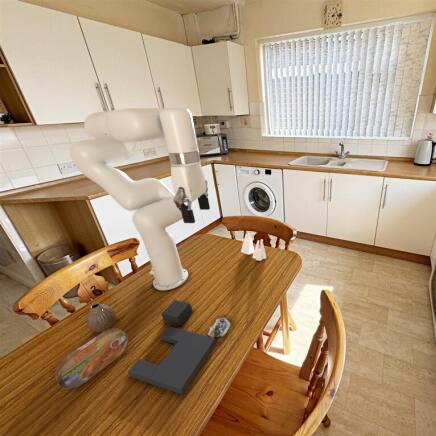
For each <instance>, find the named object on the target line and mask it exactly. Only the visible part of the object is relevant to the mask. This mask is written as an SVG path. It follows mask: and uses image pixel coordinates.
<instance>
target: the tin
mask: <svg viewBox="0 0 436 436" xmlns="http://www.w3.org/2000/svg"><path fill="white" fill-rule="evenodd" d="M128 345H129V335H128V334H127V332H125V331H123V330H122V329H120V328H110V329H108V330H106V331H104V332H100V333H99V334H98V335H96V336H95V337H93V338H92V339H90V340H88V341H87V342H85V343H84V344H83V345H81V346H80V347H77V349H75V350H74V351H72V352H71V353H69V354H68V355H66V356H65V357H64V358H63V359H62V360H61V361H60V362H59V364H58V365H57V367H56V369H55V372H54V377H55V380H56V381H57V384H58V386H59V387H61V388H63V389H74V388H77V387H79V386H82V385H84V384H85V383H87V382H88V381H89V380H91V379H92V378H93V377H95V376H96V375H97V374H99V373H100V372H101V371H103V369H105V368H107V366H109V365H110V364H112V363H113V362H114V361H116V360H117V359H118V358H120V356H122V354H123V353H124V352H125V351H126V350H127V347H128Z"/></svg>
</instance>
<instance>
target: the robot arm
mask: <svg viewBox="0 0 436 436" xmlns="http://www.w3.org/2000/svg"><path fill="white" fill-rule="evenodd" d="M83 126H84V129H85V131H86V132H87V134H88V135H90V137H92V138H91V139H84V140H80V141H77V142H75V143H73V144H72V145H71V146H70V148H69V157H70V159H71V160H72V162H73V164H74V165H75V167H76V168H77V169H78V171H80V173H81V174H83V176H85V177H87V178H88V179H89V180H90V181H92V182H94V183H95V184H97V185H98V186H99V187H100V188H102V189H103V190H104V191H105V192H106V193H107V194H108V195H109V196H110V198H112V199H113V200H114V201H115V202H116V203H117V204H118V205H119V206H120V207H122V208H123V209H124V210H126V211H129V212H133V211H134V213H133V215H132V217H131V218H132V223H133V225H134V227H135V229H136V230H137V232H138V233H139V235H140V238H141V240H142V242H143V245H144V247H145V250H146V253H147V256H148V259H149V262H150V265H151V271H149V272H148V273H149V275H151V276H153V278H154V279H153V281H152V285H153V287H154V288H155V289H156V290H158V291H170V290H173V289H176V288H178V287H180V286H182V285H184V283H185V282H186V281H187V280H188V278H189V272H188V270H187V269H185V268H183V267H182V262H181V259H180V255H179V251H178V248H177V245H176V241H175V238H174V236H173V235H172V234H171V233H169V232H168V231H167V230H166V229H167V228H168V227H169V226H172V225H174V224H176V223H177V222H180V221H181V220H182V221H183V223H184V224H195V223H196V219H195V215H194V210H193V209H192V205H193V204H192V203H193V202H195V201H196V200H197V202H198V203H197V204H198V207H199V210H203V211H209V210H210V209H211V206H210V201H209V193H208V190H209V188H208V180H207V179H205V174H204V170H203V168H202V164H201V163H202V162H201V156H200V151H199V146H198V139H197V135H196V129H195V124H194V120H193V114H192V113H191V111H190V109H188V108H186V107H167V108H166V107H138V108H122V109H113V110H105V111H96V112H92V113H90V114H88V115H87V116H86V117H85V119H84V121H83ZM157 139H164V140H165V144H166V145H165V146H166V149H167V153H168V157H169V161H170V176H171V183H172V190H173V192H172V190H171V189H170V188H169V187H168V186H167V185H166V184H164V182H162V181H161V180H159V179H157V178H154V177H146V178H142V179H139V180H133V179H132V178H130V177H129V175H127V173H126V172H124V171H122V170H121V169H118V168H116V167H113V166H110V165H107V164H112V163H113V164H114V163H118V162H121V161H122V162H123V161H127V160H129V159H131V158H132V157H133V155H134V152H135V149H136V146H137V144H138V142H144V141H150V140H151V141H152V140H157ZM185 203H187V204H185Z"/></svg>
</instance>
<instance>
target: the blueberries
mask: <svg viewBox="0 0 436 436" xmlns="http://www.w3.org/2000/svg"><path fill="white" fill-rule="evenodd" d="M231 324H232V323H231V322H230V320H228V319H227V318H226V317H219V318H217V319H216V320H215V322H214V323H213V324H211V327H210V326H209V329H208V330H207V332H206V334H207V336H208V337H211V338H215V339H216V338H219V337H221V338H222V337H225V335H226V334H227V333H228V331H229V329H230V328H231Z"/></svg>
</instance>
